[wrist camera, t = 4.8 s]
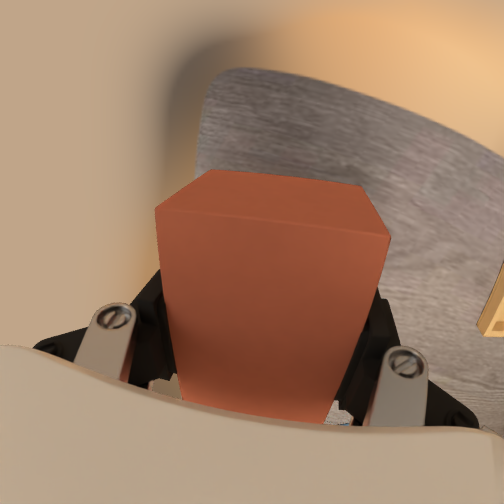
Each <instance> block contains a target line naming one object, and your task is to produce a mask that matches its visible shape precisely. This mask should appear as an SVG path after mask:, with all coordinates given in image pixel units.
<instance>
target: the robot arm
mask: <svg viewBox="0 0 504 504" xmlns="http://www.w3.org/2000/svg"><path fill="white" fill-rule="evenodd" d="M428 371H429V368H428V363H427V361H426V359H425V357H424V356H423V355H422V354H421V353H420V352H418V351H417V350H415V349H413V348H411V347H408V346H401V344H400V340H399V337H398V333H397V329H396V326H395V322H394V319H393V315H392V312H391V309H390V305H389V302H388V300H387V299H381V297H380V294H379V290H378V287H377V289H376V293H375V296H374V299H373V302H372V305H371V308H370V311H369V314H368V317H367V320H366V322H365V325H364V328H363V331H362V332H361V334H360V336H359V339H358V342H357V345H356V347H355V350H354V352H353V355H352V357H351V360H350V362H349V365H348V367H347V370H346V372H345V375H344V377H343V379H342V382H341V384H340V386H339V389H338V391H337V393H336V396H335V398H334V400H338V401H339V410H346V411H347V412H348V413H350V414H351V415H352V417H351V420H350V423H349V426H343V425H328V424H316V423H306V422H297V421H289V420H281V419H274V418H267V417H261V416H255V415H249V414H244V413H238V412H233V411H228V410H223V409H219V408H214V407H210V406H205V405H201V404H197V403H193V402H189V401H185V400H181V399H178V398H174V397H170V396H167V395H163V394H160V393H156V392H153V384H154V382H153V381H154V380H155V379H158V378H160V379H164V380H168V381H170V379H171V376H172V375H173V373H176V374H177V369H176V363H175V358H174V353H173V347H172V341H171V335H170V329H169V323H168V317H167V310H166V303H165V301H164V294H163V286H162V278H161V270H160V269H159V270H158V271H157V272H156V274H155V275H154V276H153V277H152V278H151V280H150V281H149V282H148V283H147V284H146V286H145V287H144V288H143V289H142V290H141V292H140V293H139V294H138V295H137V296H136V298H135V299H134V300H133V301H132V303H131V304H130V305H128V304H126V303H111V304H107V305H105V306H103V307H101V308H100V309H99V310H97V311H96V312H95V314H94V316H93V317H92V320H91V322H90V324H89V326H88V327H86V328H82V329H79V330H75V331H72V332H68V333H65V334H61V335H58V336H54V337H51V338H47V339H44V340H42V341H40V342H39V343H37V344H36V345H35V346H34V347H33V348H28V347H23V346H16V345H1V346H0V504H504V437H503V436H502V435H500V434H498V433H496V432H495V431H493V430H491V429H490V428H488V427H486V426H484V425H483V427H482V428H480V427H479V423H478V420H477V418H476V416H475V414H474V413H473V412H472V411H471V410H470V409H468V408H467V407H466V406H464V405H463V404H462V403H460V402H459V401H457V400H456V399H455V398H453V397H452V396H450V395H449V394H448V393H446V392H445V391H444V390H442V389H441V388H439V387H438V386H437V385H435V384H434V383H433V382H431V381H430V380H428Z"/></svg>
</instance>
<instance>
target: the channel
mask: <svg viewBox="0 0 504 504" xmlns="http://www.w3.org/2000/svg"><path fill="white" fill-rule="evenodd" d="M476 325H477V327H478V328H479V330H480V332H481V334H482V335H483V337H504V263H503V266H502V268H501V271H500V273H499V276H498V278H497V281H496V283H495V286H494V288H493V290H492V293H491V295H490V297H489V299H488V302H487V304H486V306H485V308H484V310H483V312H482V314H481V316H480V318H479V320H478V322H477V324H476Z"/></svg>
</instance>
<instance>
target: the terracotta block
mask: <svg viewBox="0 0 504 504" xmlns="http://www.w3.org/2000/svg"><path fill="white" fill-rule="evenodd" d="M155 219H156V231H157V242H158V252H159V261H160V270H161V278H162V286H163V294H164V301H165V303H166V310H167V317H168V323H169V329H170V335H171V341H172V347H173V353H174V358H175V363H176V369H177V376H178V381H179V385H180V391H181V395H182V400H185V401H189V402H193V403H197V404H201V405H205V406H210V407H214V408H219V409H223V410H228V411H233V412H238V413H244V414H249V415H255V416H261V417H267V418H274V419H281V420H289V421H297V422H306V423H316V424H323V423H324V421H325V419H326V417H327V414H328V412H329V410H330V408H331V406H332V404H333V402H334V398H335V396H336V393H337V391H338V389H339V386H340V384H341V382H342V379H343V377H344V375H345V372H346V370H347V367H348V365H349V362H350V360H351V357H352V355H353V352H354V350H355V347H356V345H357V342H358V339H359V336H360V334H361V332H362V331H363V328H364V325H365V322H366V320H367V317H368V314H369V311H370V308H371V305H372V302H373V299H374V296H375V293H376V289H377V286H378V283H379V280H380V276H381V273H382V269H383V266H384V262H385V259H386V255H387V251H388V248H389V244H390V240H391V236H390V234H389V232H388V230H387V228H386V227H385V225H384V223H383V221H382V220H381V218H380V216H379V214H378V213H377V211H376V209H375V208H374V206H373V204H372V203H371V201H370V199H369V198H368V196H367V195H366V193H365V191H364V190H363V188H362V187H361V186H357V185H351V184H344V183H337V182H330V181H323V180H316V179H308V178H300V177H291V176H282V175H273V174H263V173H252V172H240V171H227V170H212V169H211V170H209V171H208V172H206V173H204V174H203V175H201V176H200V177H198V178H197V179H196V180H194V181H193V182H191V183H190V184H188V185H187V186H185V187H184V188H182V189H181V190H180V191H178V192H177V193H175V194H174V195H172V196H171V197H170V198H168V199H167V200H165V201H164V202H163V203H161V204H160V205H158V206H157V207H156V208H155Z"/></svg>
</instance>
